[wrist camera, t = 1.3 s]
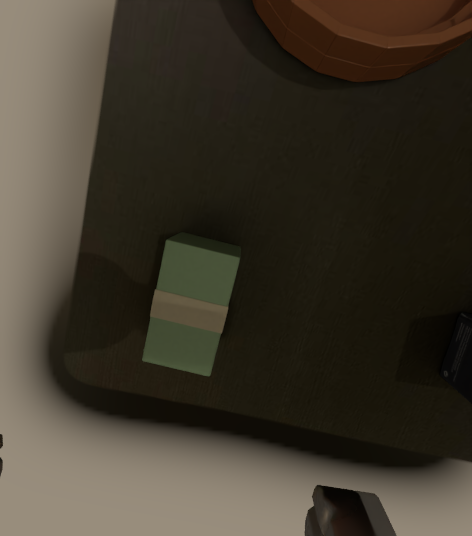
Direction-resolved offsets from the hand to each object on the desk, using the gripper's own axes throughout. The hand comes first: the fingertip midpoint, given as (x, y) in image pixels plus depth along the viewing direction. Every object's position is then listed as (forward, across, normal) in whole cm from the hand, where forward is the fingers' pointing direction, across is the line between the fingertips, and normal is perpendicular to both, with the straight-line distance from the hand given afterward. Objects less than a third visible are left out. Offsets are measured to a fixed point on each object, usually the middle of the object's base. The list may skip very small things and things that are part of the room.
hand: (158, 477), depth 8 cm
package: (+18, +1, +1) cm, 18 cm away
